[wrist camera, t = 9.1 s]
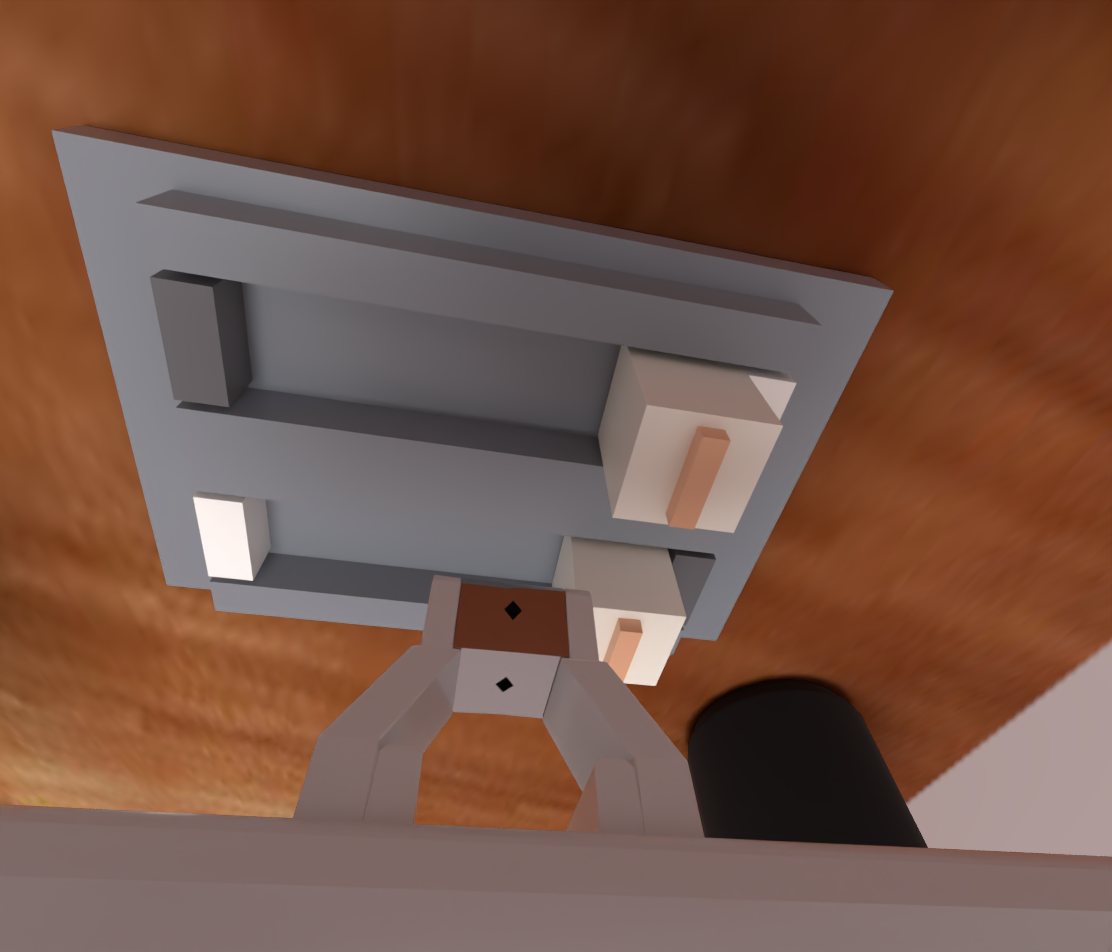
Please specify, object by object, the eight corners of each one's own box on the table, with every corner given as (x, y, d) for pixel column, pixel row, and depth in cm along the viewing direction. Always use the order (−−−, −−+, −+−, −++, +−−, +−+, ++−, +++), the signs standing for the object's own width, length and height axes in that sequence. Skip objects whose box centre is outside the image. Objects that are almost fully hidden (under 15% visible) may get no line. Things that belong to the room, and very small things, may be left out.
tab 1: (569, 515, 25) (578, 618, 20) (661, 527, 25) (690, 630, 21) (552, 583, 27) (556, 690, 22) (637, 592, 28) (658, 699, 23)
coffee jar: (694, 783, 41) (786, 1189, 26) (670, 692, 35) (771, 1153, 20) (853, 755, 40) (1044, 1167, 25) (856, 656, 34) (1110, 1121, 19)
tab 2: (623, 335, 20) (650, 415, 16) (734, 354, 21) (790, 436, 16) (597, 434, 23) (614, 529, 18) (698, 449, 23) (738, 545, 19)
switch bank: (84, 125, 18) (-1, 137, 15) (873, 277, 21) (925, 311, 18) (182, 562, 28) (142, 619, 25) (708, 617, 31) (726, 674, 29)
